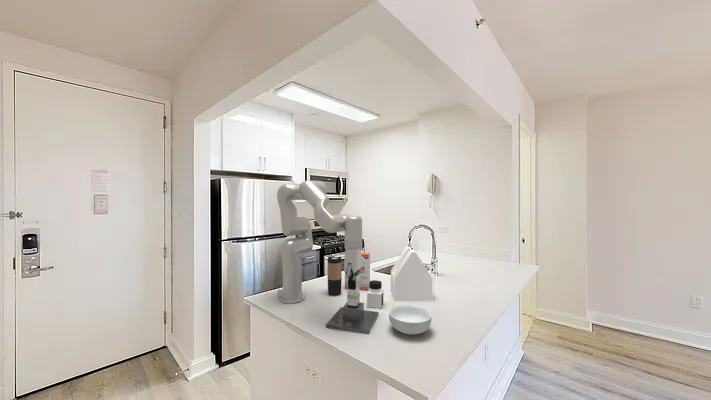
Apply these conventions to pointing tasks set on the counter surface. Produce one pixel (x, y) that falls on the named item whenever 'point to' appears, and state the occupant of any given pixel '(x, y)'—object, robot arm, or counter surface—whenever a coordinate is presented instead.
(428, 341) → the counter surface
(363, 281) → the cracker box
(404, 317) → the cereal bowl
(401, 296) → the white house-shaped block
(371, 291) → the medicine bottle
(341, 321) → the stand base
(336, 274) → the travel mug
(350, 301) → the column
